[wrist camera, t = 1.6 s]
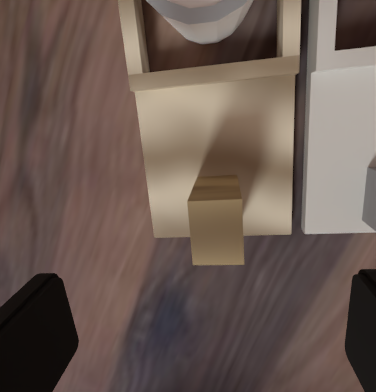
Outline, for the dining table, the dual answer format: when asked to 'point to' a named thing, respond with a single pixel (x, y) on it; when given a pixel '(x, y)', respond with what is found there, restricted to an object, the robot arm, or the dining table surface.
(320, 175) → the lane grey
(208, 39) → the white round container
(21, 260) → the dining table surface
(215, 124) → the beige frame tray
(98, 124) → the dining table surface
